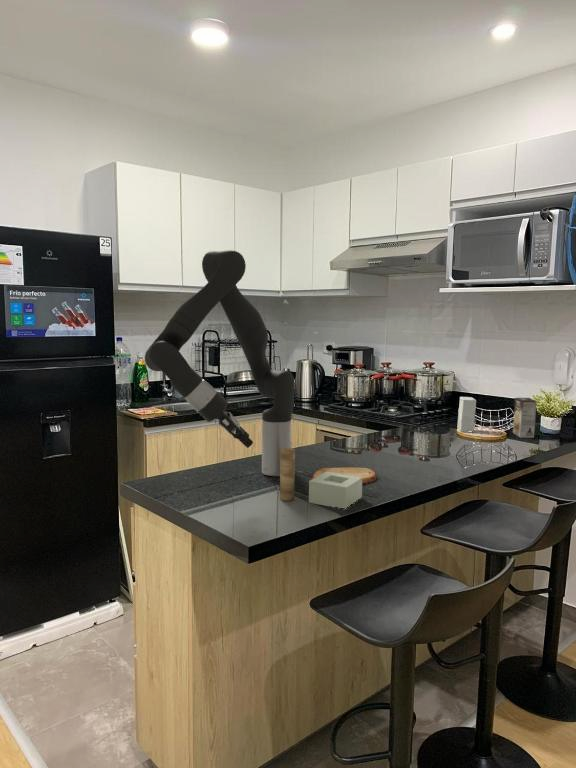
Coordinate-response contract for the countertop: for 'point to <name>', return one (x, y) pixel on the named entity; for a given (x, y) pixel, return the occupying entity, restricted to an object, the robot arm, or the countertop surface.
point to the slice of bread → (350, 473)
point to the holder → (335, 490)
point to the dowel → (287, 474)
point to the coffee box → (524, 417)
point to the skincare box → (466, 414)
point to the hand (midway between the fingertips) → (248, 441)
